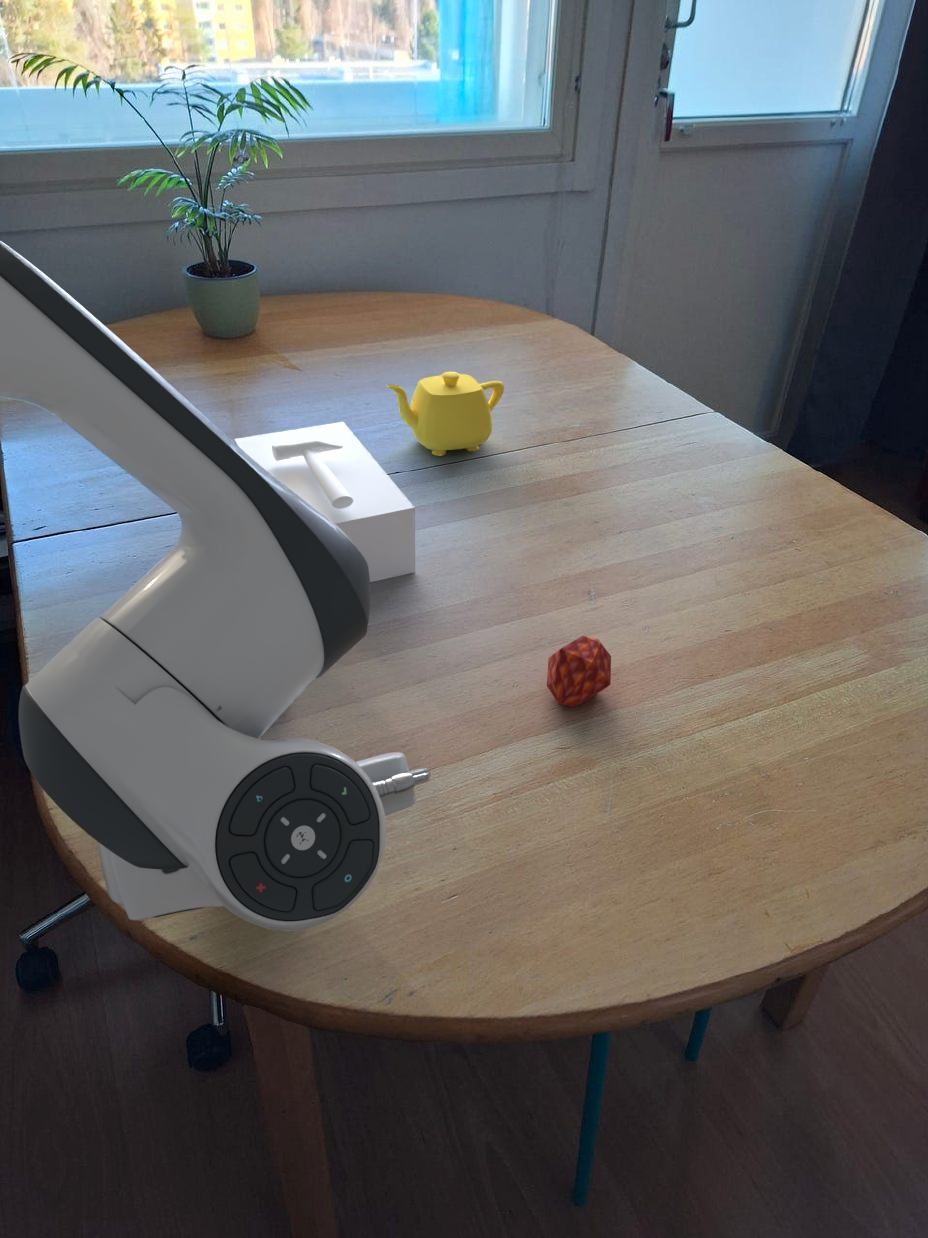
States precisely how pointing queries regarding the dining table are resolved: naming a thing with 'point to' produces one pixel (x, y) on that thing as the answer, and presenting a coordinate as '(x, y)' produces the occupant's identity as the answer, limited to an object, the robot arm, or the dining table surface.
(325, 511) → the hammer relief block
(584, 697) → the decorative stone
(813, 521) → the dining table surface
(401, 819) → the dining table surface
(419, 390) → the teapot
